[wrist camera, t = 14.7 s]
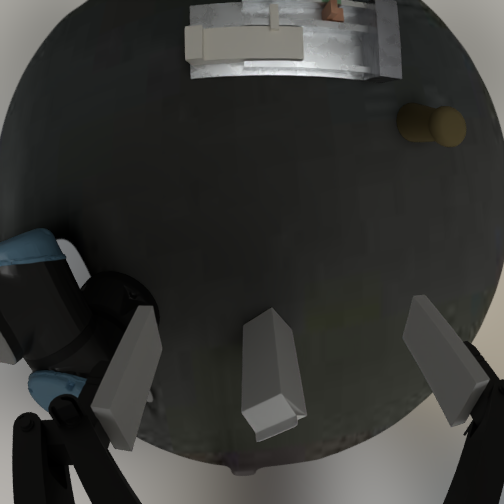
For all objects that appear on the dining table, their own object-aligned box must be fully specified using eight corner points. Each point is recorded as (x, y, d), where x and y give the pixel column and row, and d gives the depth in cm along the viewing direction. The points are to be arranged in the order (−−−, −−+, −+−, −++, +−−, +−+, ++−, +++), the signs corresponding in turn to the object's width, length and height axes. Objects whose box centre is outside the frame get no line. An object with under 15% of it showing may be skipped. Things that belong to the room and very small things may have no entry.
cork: (417, 95, 39) (459, 94, 29) (436, 129, 41) (479, 137, 31) (389, 115, 40) (427, 117, 30) (409, 149, 42) (449, 161, 32)
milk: (292, 329, 54) (312, 434, 34) (263, 346, 56) (270, 452, 36) (271, 306, 52) (284, 413, 32) (241, 324, 54) (240, 432, 34)
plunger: (192, 65, 37) (185, 59, 32) (191, 17, 34) (184, 7, 29) (300, 62, 37) (306, 56, 32) (298, 14, 34) (303, 3, 29)
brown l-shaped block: (322, 23, 34) (331, 12, 29) (320, -2, 33) (329, -15, 28) (339, 25, 34) (350, 15, 29) (337, 0, 33) (348, -13, 28)
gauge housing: (192, 79, 38) (181, 72, 32) (191, 8, 34) (181, -9, 28) (380, 83, 38) (402, 79, 32) (376, 14, 34) (396, 1, 28)
